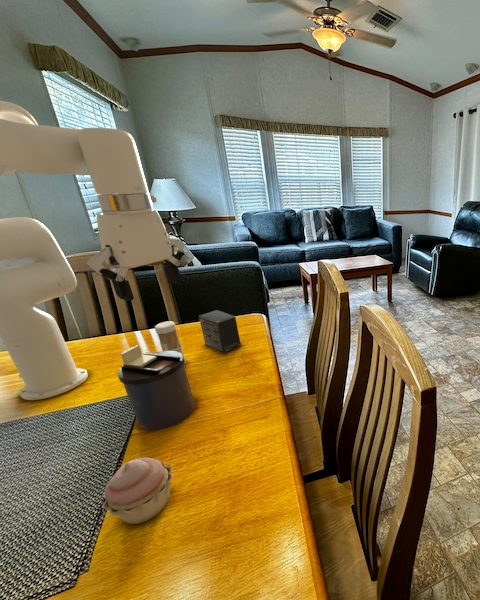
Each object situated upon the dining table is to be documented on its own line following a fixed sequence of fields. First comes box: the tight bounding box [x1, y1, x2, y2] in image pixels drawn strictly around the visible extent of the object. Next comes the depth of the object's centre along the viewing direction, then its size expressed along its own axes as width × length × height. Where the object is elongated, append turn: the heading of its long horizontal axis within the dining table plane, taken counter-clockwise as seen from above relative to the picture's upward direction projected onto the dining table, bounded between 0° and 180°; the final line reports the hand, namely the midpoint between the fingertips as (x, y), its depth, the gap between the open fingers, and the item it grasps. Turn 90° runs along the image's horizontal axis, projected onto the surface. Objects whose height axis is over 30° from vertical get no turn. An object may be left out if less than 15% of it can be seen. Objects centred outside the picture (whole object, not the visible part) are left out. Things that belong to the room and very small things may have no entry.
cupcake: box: [101, 456, 173, 525], centre depth 53 cm, size 9×9×10 cm
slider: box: [120, 344, 157, 367], centre depth 71 cm, size 4×4×3 cm
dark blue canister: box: [117, 350, 196, 431], centre depth 73 cm, size 12×12×14 cm
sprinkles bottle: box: [154, 320, 187, 367], centre depth 92 cm, size 5×5×14 cm
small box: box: [197, 309, 242, 354], centre depth 103 cm, size 11×6×10 cm, turn 58°
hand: (152, 291), depth 66 cm, fingers open, 9 cm apart
